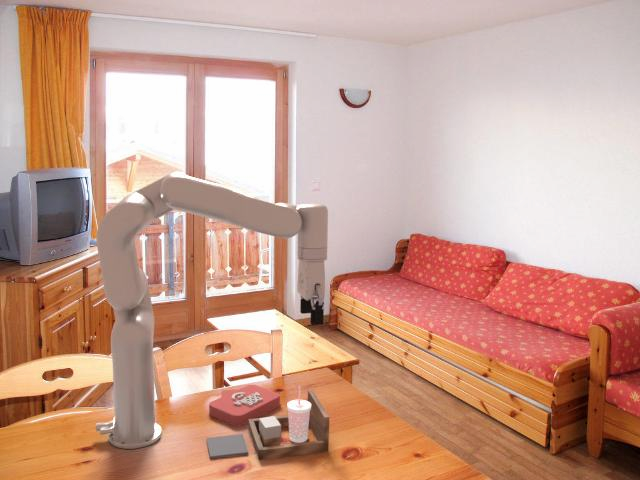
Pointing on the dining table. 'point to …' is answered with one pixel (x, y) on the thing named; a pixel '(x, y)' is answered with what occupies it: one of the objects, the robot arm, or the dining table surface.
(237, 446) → the coaster
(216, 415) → the plaque
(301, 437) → the beverage cup
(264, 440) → the block
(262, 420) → the offcut top
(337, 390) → the dining table surface
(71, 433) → the dining table surface
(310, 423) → the rack
